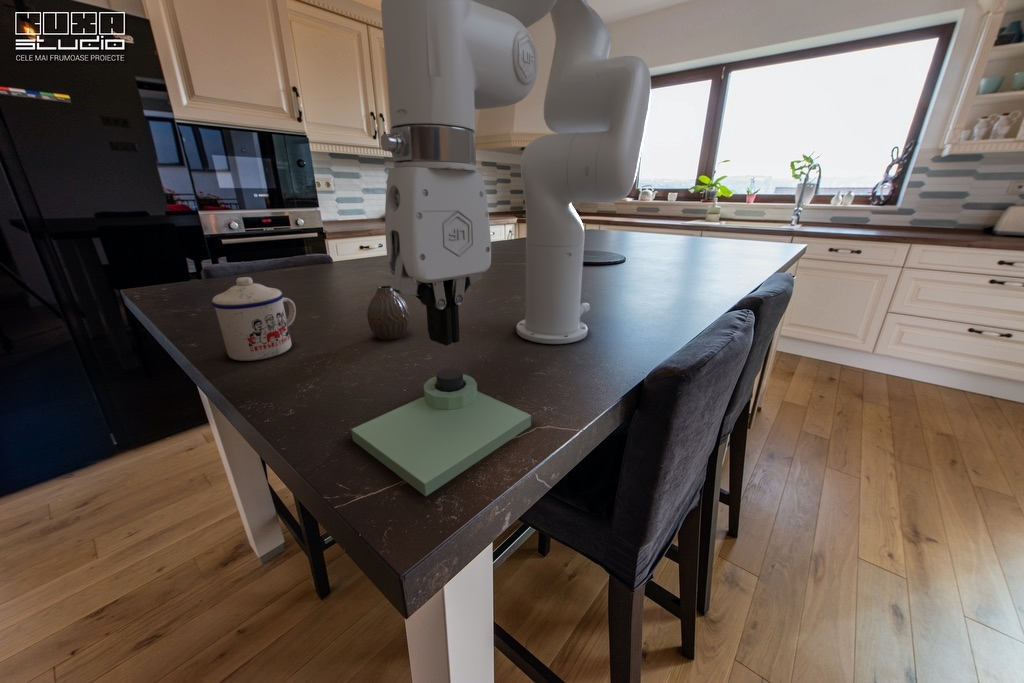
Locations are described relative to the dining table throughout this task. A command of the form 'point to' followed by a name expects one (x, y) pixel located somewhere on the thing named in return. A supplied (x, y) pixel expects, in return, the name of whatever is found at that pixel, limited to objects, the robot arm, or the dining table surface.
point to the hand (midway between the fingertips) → (444, 340)
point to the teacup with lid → (254, 320)
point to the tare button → (449, 380)
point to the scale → (440, 434)
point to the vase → (388, 314)
